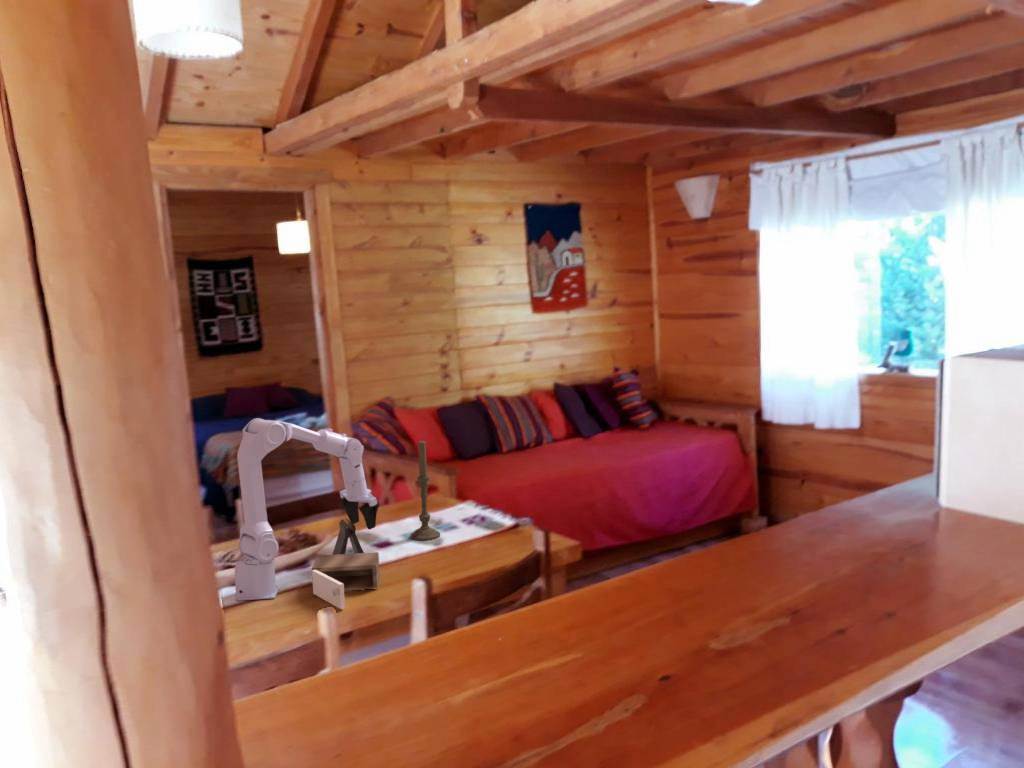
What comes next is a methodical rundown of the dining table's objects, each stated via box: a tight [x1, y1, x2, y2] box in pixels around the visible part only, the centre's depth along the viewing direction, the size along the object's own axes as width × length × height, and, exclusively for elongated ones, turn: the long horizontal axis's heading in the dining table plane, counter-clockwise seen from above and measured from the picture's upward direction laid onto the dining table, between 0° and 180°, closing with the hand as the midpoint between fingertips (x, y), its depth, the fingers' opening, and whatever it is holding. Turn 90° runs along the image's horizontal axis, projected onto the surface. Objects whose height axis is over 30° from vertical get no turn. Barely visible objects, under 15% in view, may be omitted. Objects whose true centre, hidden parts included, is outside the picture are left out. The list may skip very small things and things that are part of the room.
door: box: [311, 569, 346, 610], centre depth 204 cm, size 14×2×6 cm, turn 41°
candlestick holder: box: [410, 440, 441, 542], centre depth 255 cm, size 9×9×30 cm
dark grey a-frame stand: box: [332, 518, 365, 555], centre depth 232 cm, size 9×6×12 cm, turn 116°
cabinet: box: [311, 551, 381, 592], centre depth 216 cm, size 16×10×6 cm, turn 96°
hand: (363, 525), depth 232 cm, fingers open, 7 cm apart
